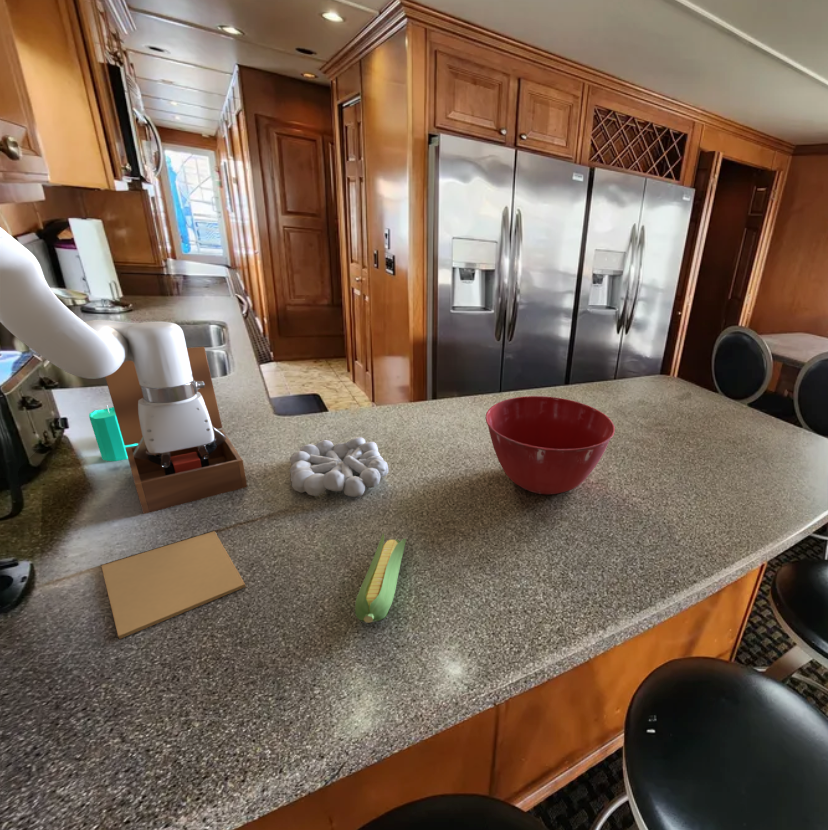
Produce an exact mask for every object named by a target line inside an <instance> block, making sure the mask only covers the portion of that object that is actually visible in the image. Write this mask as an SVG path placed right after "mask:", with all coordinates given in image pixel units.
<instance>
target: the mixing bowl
mask: <svg viewBox="0 0 828 830" xmlns="http://www.w3.org/2000/svg"><path fill="white" fill-rule="evenodd" d="M485 421H486V423H485V424H486V425H487V427H488V432H489V435H490V439H491V443H492V447H493V449H494V452H495V455H496V457H497V460H498V462H499V465H500V466H501V468H502V470H503V472H504V473H505V475H506V477H508V479H510V480H511V481H512V482H513V483H514V484H515V485H517V486H518V487H520V488H522V489H524V490H526V491H528V492H530V493H533V494H539V495H558V494H561V493H566V492H569V491H571V490H573V489H575V488H577V487H578V486H580V485H581V484H582V483H583V482H584V481H585V480H586V479H587V478H588V477H589V476H590V475H591V474H592V472H593V470H594V469H595V468H596V466H597V465H598V464H599V462H600V460H601V458H602V457H603V455H604V454H605V452H606V450H607V447H608V445H609V444H610V441H611V439H612V438H613V437H614V435H615V430H616V428H615V424H614V423H613V421H612V420H611V419H610V417H609V416H607V415H606V414H605V413H604V412H602V411H600V409H597V408H595V407H592V406H590V405H589V404H586V403H582V402H580V401H575V400H571V399H567V398H561V397H556V396H555V397H554V396H543V395H542V396H541V395H529V396H518V397H512V398H507V399H504V400H501V401H499V402H497V403H494V404H493V405H492V406H490V408H488V410H487V411H486V413H485Z"/></svg>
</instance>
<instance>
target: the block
mask: <svg viewBox="0 0 828 830" xmlns="http://www.w3.org/2000/svg"><path fill="white" fill-rule="evenodd" d="M170 458H171V461H172V464H173V466H174V470H175V473H179V472H184V471H188V470H193V469H197V468H202V467H201V462H200V459H199V457H198V455H197V453H196V452H192V453H187V454H182V455H178V456H173V457H170Z"/></svg>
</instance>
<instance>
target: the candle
mask: <svg viewBox="0 0 828 830" xmlns="http://www.w3.org/2000/svg"><path fill="white" fill-rule="evenodd" d="M88 417H89V421H90V424H91V428H92V431H93V434H94V437H95V441H96V443H97V447H98V449H99V454H100V456H101V459H102V460H103V461H106V462H119V461H124V460H128V456H127V452H126V448H125V447H131V446H136V445H138V444H139V443H136V444H131V445H124V441H123V438H122V434H121V431H120V427H119V424H118V420H117V417H116V413H115V410H114V406H111V407H109V405H108V404H106V408H103V409H94V410H92V411H91V412H89V414H88Z"/></svg>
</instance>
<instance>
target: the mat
mask: <svg viewBox="0 0 828 830" xmlns="http://www.w3.org/2000/svg"><path fill="white" fill-rule="evenodd" d="M100 568H101V571H102V575H103V580H104V583H105V587H106V592H107V597H108V600H109V605H110V609H111V613H112V617H113V622H114V626H115V628H116V629H115V631H116V633H117V637H118V640H121V639H123V638H126V637H128V636H131V635H133V634H135V633H138V632H140V631H142V630H146V629H148V628H151V627H153V626H155V625H157V624H160V623H162V622H165V621H167V620H169V619H171V618H175V617H177V616H179V615H181V614H185V613H187V612H189V611H191V610H193V609H196V608H198V607H201V606H203V605H206V604H209V603H211V602H214V601H215V600H218V599H220V598H223V597H225V596H228V595H230V594H232V593H235V592H237V591H240V590H243V589H244V588H246V586H247V585H246V583H245V581H244V580H243V578H242V576H241V575H240V572H239V571H238V569H237V567H236V566H235V564H234V562H233V560H232V559H231V557H230V555H229V554H228V552H227V550H226V548H225V546H224V544H223V543H222V541H221V539H220V538H219V536H218V534H217V533H216V530H211V531H210V530H209V531H207V532H204V533H202V534H198V535H193V536H191V537H188V538H184V539H180V540H178V541H175V542H171V543H167V544H165V545H164V544H163V545H161V546H158V547H154V548H151V549H147V550H145V551H142V552H141V551H140V552H138V553H134V554H132V555H129V556H126V557H122V558H119V559H115V560H112V561H109V562H105V563H102V564H100Z"/></svg>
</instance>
